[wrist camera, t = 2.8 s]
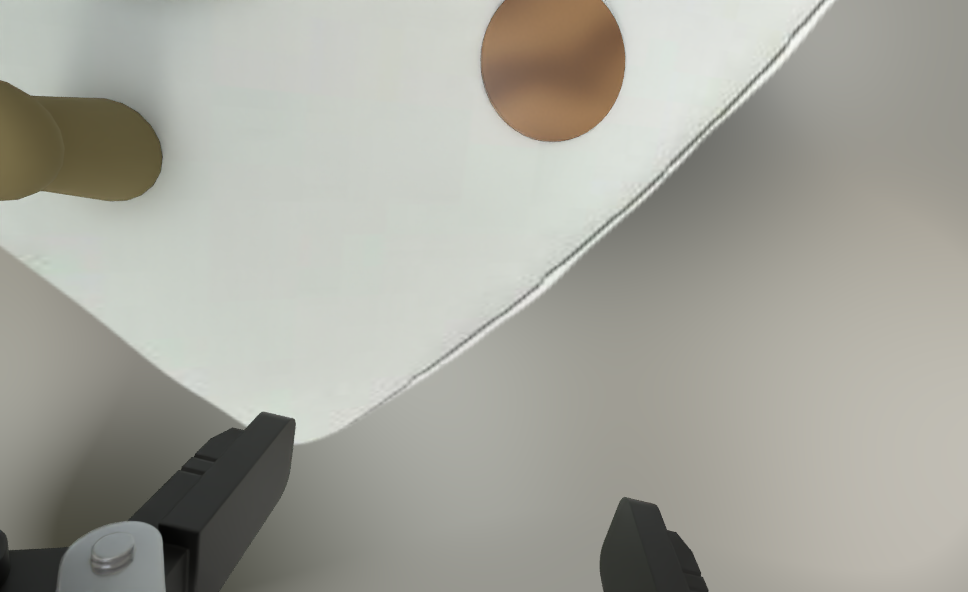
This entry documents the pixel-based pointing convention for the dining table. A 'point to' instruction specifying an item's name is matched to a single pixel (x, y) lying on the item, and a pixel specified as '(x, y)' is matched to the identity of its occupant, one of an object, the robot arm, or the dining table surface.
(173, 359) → the dining table surface
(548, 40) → the coaster
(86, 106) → the pepper shaker
